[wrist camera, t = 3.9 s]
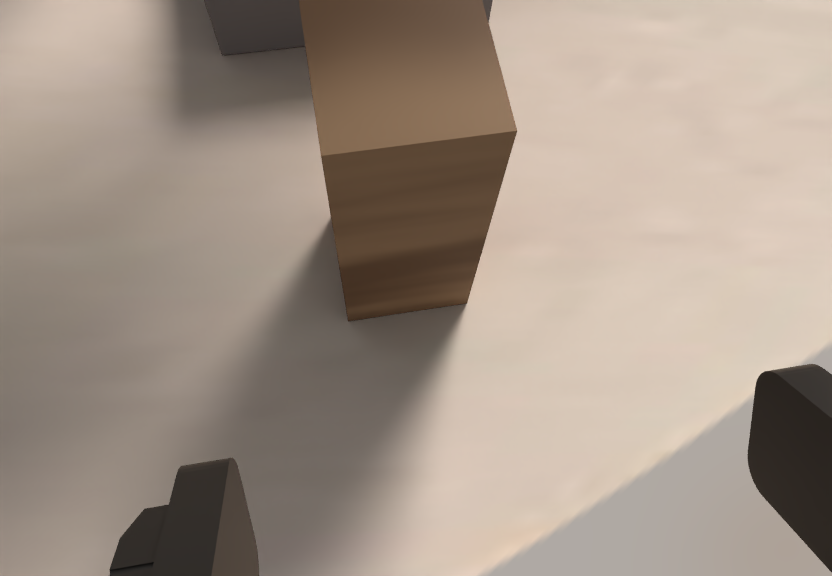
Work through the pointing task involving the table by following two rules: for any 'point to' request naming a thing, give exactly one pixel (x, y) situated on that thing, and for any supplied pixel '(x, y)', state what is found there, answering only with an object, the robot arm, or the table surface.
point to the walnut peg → (407, 145)
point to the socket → (261, 24)
